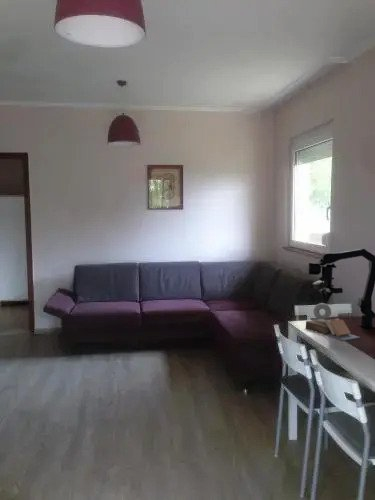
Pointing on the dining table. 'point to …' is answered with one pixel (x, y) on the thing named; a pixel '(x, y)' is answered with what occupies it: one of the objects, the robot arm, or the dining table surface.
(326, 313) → the donut
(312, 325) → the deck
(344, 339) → the mat
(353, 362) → the dining table surface
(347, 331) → the tile upper
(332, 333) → the tile lower
